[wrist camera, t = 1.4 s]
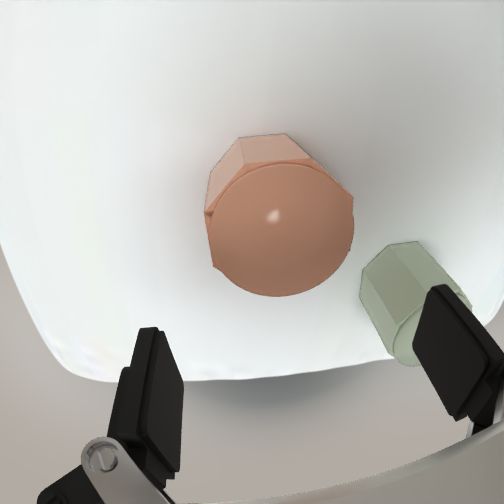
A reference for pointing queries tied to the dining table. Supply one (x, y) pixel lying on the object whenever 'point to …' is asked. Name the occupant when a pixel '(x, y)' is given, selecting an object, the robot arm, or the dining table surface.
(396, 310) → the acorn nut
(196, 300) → the dining table surface
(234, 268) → the peach octagonal canister
